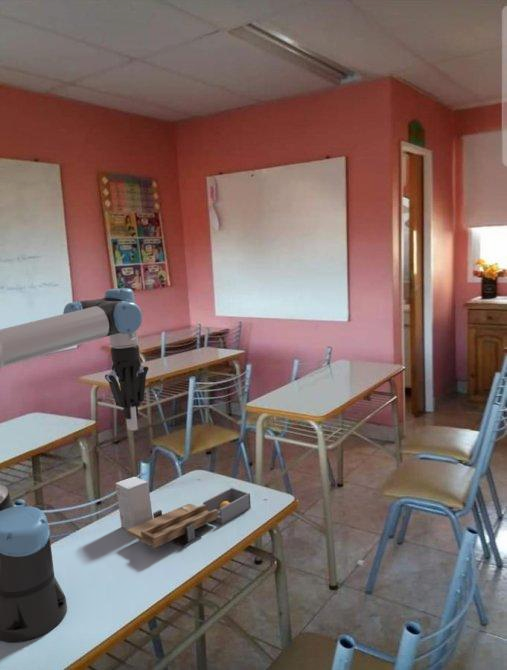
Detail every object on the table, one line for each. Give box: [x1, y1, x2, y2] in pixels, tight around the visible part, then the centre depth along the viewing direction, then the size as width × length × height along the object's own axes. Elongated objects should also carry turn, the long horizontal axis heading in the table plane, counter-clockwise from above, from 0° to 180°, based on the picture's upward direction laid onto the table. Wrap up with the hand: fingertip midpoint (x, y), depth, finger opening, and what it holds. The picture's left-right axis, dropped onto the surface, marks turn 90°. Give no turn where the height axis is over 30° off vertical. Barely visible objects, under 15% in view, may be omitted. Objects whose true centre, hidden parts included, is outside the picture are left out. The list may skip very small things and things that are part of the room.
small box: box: [115, 476, 154, 530], centre depth 155 cm, size 8×6×13 cm
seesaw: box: [126, 503, 218, 548], centre depth 151 cm, size 22×12×2 cm, turn 138°
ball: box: [220, 501, 230, 508], centre depth 161 cm, size 3×3×3 cm
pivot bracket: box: [152, 509, 202, 548], centre depth 151 cm, size 6×15×4 cm, turn 48°
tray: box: [202, 487, 252, 525], centre depth 162 cm, size 12×7×4 cm, turn 138°
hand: (132, 429), depth 153 cm, fingers closed
